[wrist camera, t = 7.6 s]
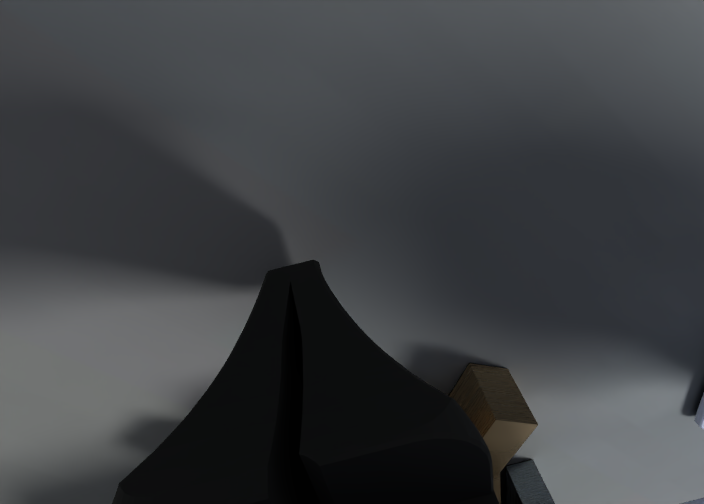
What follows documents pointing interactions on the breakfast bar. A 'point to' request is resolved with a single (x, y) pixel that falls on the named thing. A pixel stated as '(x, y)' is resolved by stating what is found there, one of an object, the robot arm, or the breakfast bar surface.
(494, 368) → the awning
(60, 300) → the breakfast bar surface
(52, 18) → the breakfast bar surface
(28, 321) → the breakfast bar surface
